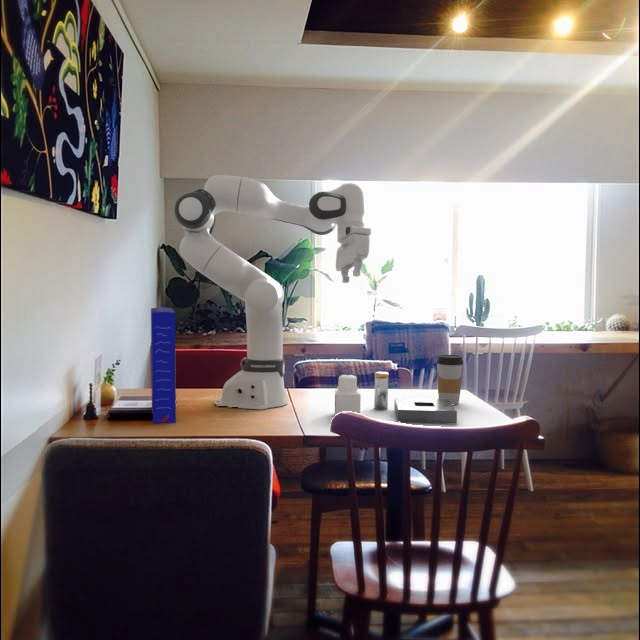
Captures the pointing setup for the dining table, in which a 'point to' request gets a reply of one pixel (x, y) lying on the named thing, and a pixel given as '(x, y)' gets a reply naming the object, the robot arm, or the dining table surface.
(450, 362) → the coffee cup
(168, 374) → the cereal box
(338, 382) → the medicine bottle
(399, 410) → the collar block
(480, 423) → the dining table surface
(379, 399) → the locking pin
